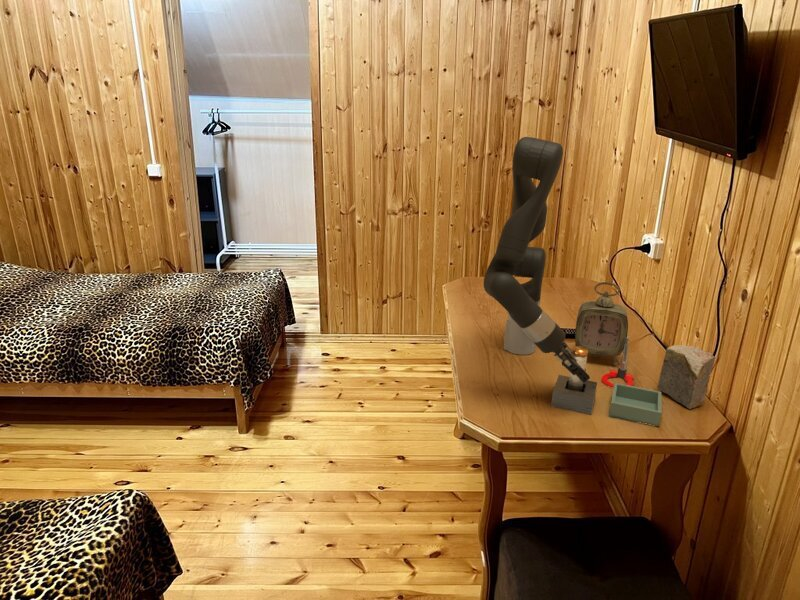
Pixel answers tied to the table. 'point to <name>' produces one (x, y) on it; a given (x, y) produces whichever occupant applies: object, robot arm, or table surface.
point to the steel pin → (581, 360)
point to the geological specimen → (686, 374)
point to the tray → (636, 404)
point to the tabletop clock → (602, 326)
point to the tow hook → (620, 369)
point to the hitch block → (574, 396)
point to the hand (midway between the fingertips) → (584, 375)
